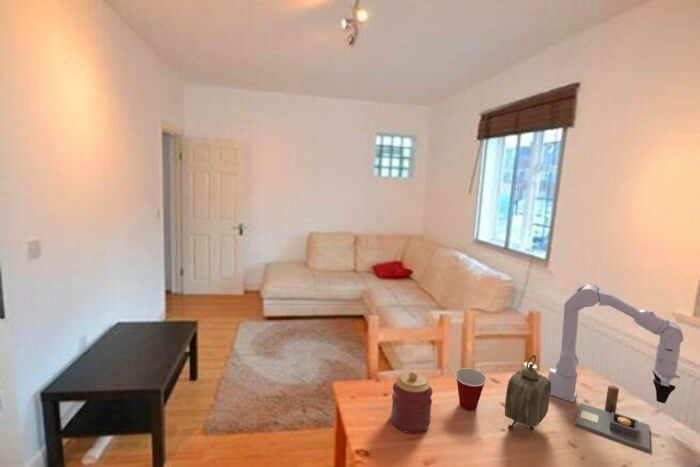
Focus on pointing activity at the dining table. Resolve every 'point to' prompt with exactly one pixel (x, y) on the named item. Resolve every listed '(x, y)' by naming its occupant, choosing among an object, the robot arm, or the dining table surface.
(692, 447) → the dining table surface
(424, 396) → the canister
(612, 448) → the dining table surface
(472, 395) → the plastic cup
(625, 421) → the breaker button
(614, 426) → the switch panel
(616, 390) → the brown cylinder
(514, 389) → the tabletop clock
